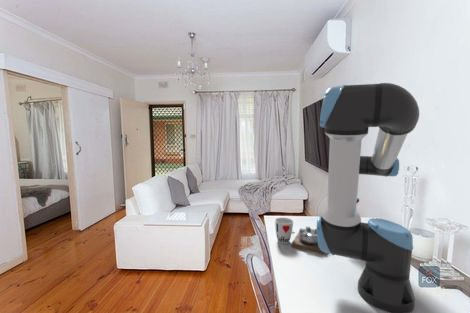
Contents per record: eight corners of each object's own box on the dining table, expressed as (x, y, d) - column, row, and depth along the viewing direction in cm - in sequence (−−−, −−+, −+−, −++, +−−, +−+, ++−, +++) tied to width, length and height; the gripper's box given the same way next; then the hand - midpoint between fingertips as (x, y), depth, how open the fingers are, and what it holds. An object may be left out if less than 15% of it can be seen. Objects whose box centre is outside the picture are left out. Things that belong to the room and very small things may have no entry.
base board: (324, 255, 101) (325, 250, 100) (291, 247, 107) (291, 242, 107) (329, 241, 113) (329, 237, 113) (299, 235, 119) (299, 231, 119)
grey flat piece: (312, 247, 102) (313, 238, 102) (293, 238, 112) (293, 229, 111) (340, 237, 113) (341, 229, 112) (321, 229, 122) (321, 221, 121)
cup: (272, 242, 111) (272, 221, 110) (277, 236, 118) (278, 216, 117) (289, 246, 108) (290, 225, 107) (294, 239, 115) (294, 219, 114)
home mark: (294, 232, 123) (294, 232, 123) (291, 233, 122) (291, 232, 122) (289, 229, 127) (289, 229, 126) (287, 230, 126) (287, 229, 126)
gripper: (360, 182, 111) (357, 231, 114) (330, 179, 117) (328, 225, 120) (360, 185, 105) (357, 237, 107) (328, 182, 111) (326, 231, 113)
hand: (341, 231), depth 114 cm, fingers closed
